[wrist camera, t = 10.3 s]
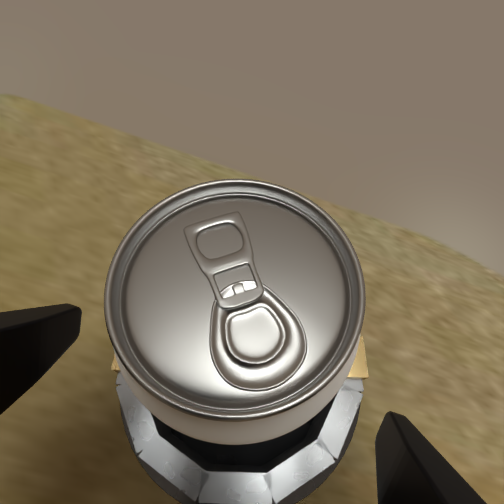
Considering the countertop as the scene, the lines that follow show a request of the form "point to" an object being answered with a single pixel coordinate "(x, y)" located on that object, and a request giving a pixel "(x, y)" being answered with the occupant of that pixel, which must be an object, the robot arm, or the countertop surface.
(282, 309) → the can
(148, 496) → the countertop surface
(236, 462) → the collar
